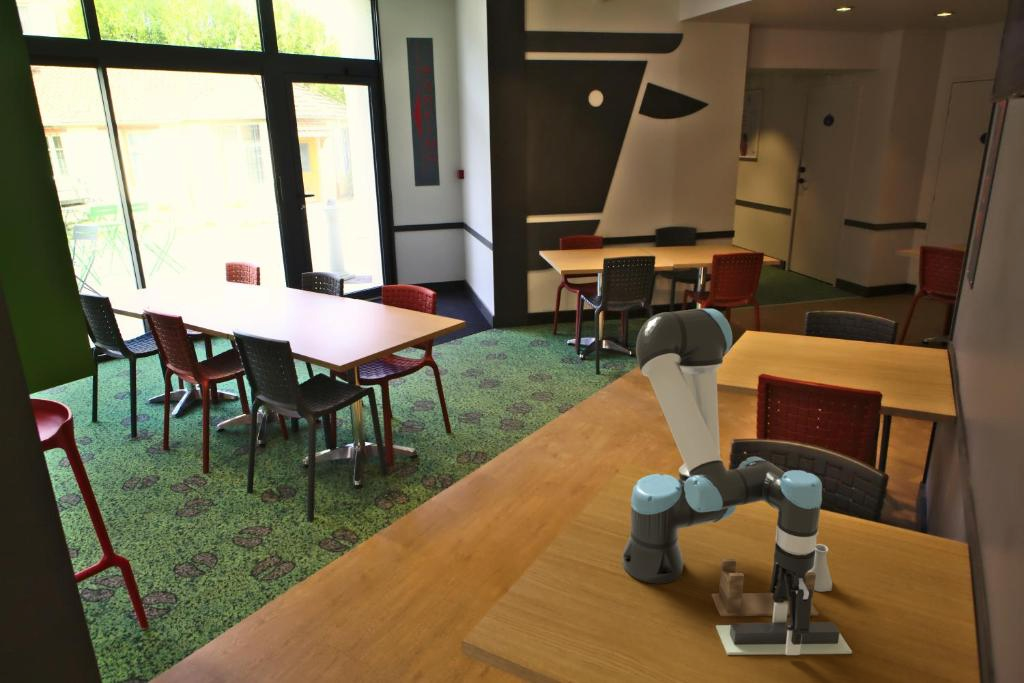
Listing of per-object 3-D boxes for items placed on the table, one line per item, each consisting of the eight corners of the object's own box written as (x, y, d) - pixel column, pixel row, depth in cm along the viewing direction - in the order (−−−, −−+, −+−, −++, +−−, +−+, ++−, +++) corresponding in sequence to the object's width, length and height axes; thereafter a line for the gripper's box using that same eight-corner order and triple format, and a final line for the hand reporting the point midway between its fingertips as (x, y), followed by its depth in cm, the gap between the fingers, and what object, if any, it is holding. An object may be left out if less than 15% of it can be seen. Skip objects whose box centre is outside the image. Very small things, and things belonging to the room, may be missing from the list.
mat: (727, 654, 136) (727, 652, 136) (716, 627, 144) (716, 625, 143) (851, 653, 136) (851, 651, 135) (833, 626, 143) (833, 624, 143)
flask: (836, 594, 153) (841, 558, 150) (803, 590, 155) (808, 555, 152) (828, 575, 160) (833, 540, 157) (797, 572, 162) (801, 537, 159)
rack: (720, 616, 147) (724, 577, 144) (711, 595, 154) (715, 557, 151) (817, 615, 147) (823, 576, 144) (804, 594, 153) (809, 556, 150)
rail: (734, 644, 138) (735, 633, 137) (729, 634, 141) (730, 623, 140) (837, 643, 138) (839, 632, 137) (831, 633, 140) (833, 622, 140)
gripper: (836, 574, 123) (824, 675, 128) (793, 520, 142) (784, 610, 147) (796, 575, 123) (786, 676, 129) (759, 520, 142) (751, 610, 148)
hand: (785, 640), depth 138 cm, fingers open, 7 cm apart
